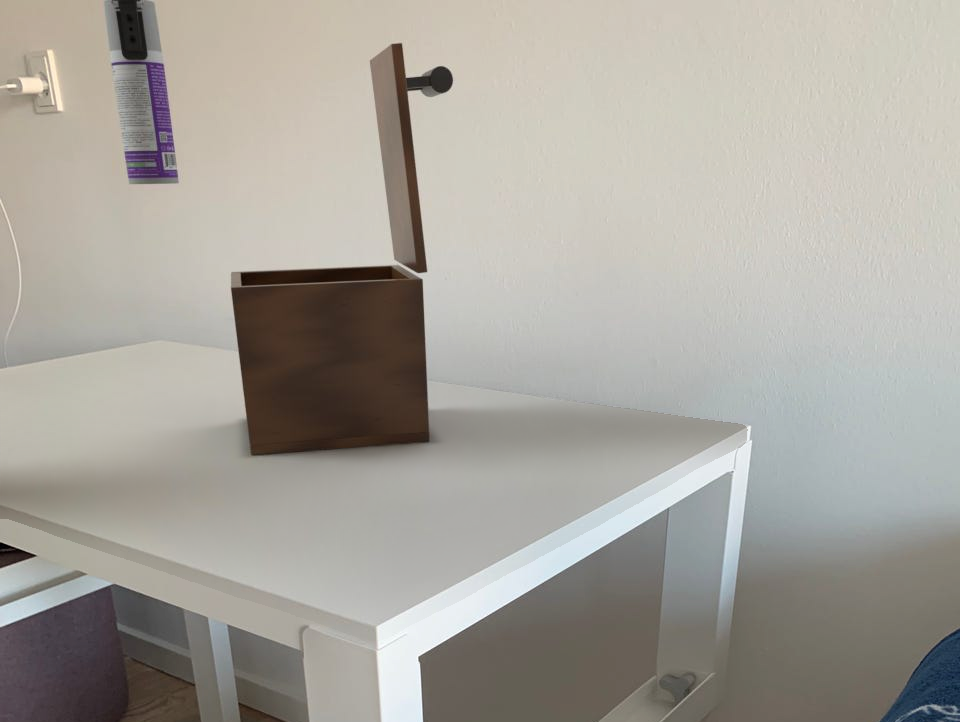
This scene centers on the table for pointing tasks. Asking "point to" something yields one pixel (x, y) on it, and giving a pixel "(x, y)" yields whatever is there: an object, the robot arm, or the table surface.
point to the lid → (402, 148)
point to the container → (143, 104)
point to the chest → (331, 357)
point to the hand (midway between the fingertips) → (137, 61)
